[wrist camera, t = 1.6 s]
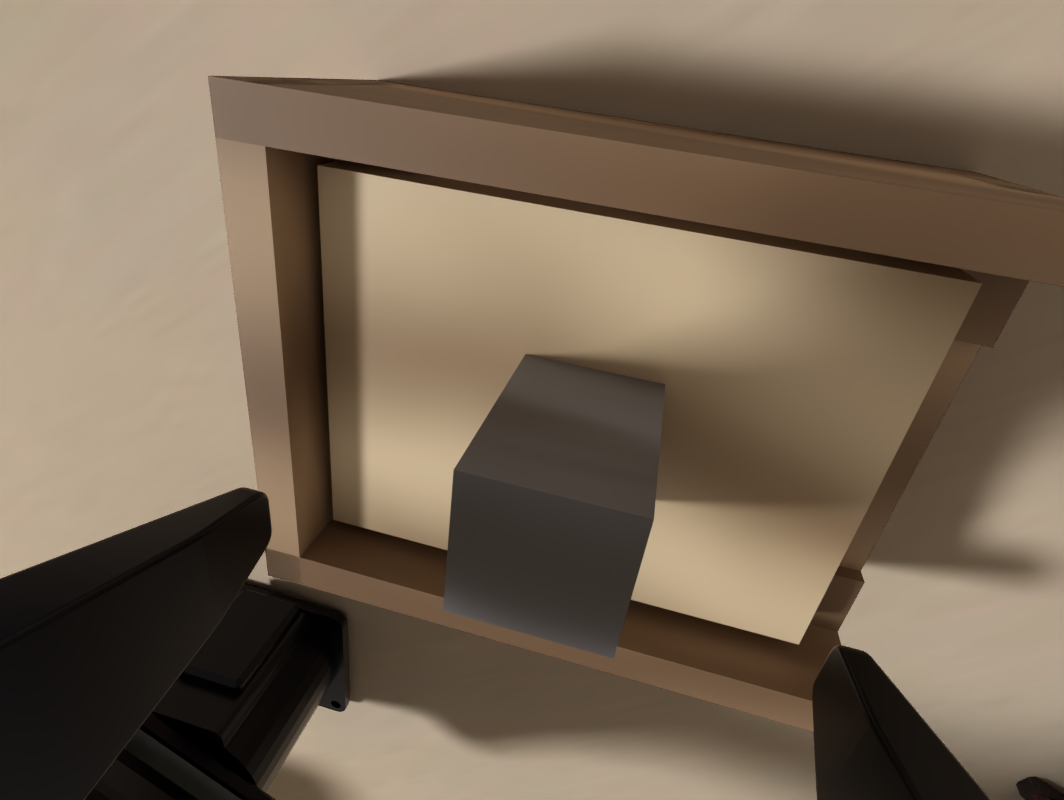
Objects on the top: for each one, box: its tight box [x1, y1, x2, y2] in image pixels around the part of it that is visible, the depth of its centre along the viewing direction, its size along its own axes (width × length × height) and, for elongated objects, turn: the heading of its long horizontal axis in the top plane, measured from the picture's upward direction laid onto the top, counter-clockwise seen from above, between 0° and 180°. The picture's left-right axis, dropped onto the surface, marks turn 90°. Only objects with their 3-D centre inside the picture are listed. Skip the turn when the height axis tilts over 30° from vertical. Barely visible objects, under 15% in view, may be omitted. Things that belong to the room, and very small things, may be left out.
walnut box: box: [208, 76, 1064, 732], centre depth 15 cm, size 12×15×6 cm
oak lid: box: [317, 160, 982, 659], centre depth 12 cm, size 9×12×6 cm
